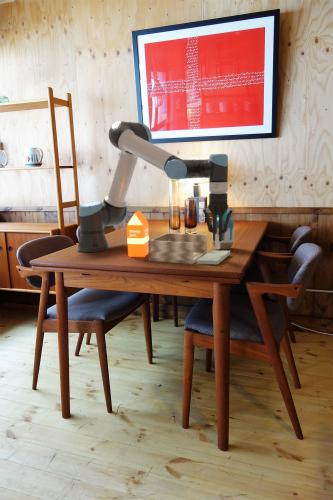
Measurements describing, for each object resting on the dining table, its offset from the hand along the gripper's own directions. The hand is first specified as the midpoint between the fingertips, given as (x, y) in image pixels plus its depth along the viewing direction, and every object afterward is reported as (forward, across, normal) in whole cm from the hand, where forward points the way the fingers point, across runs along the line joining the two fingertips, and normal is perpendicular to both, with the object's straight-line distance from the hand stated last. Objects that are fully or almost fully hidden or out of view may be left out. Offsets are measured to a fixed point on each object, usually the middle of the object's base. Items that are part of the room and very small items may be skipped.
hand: (217, 248), depth 163 cm
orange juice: (+6, -38, 0) cm, 38 cm away
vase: (+5, -4, +22) cm, 23 cm away
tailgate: (+5, -6, 0) cm, 8 cm away
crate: (+5, -18, 0) cm, 18 cm away
